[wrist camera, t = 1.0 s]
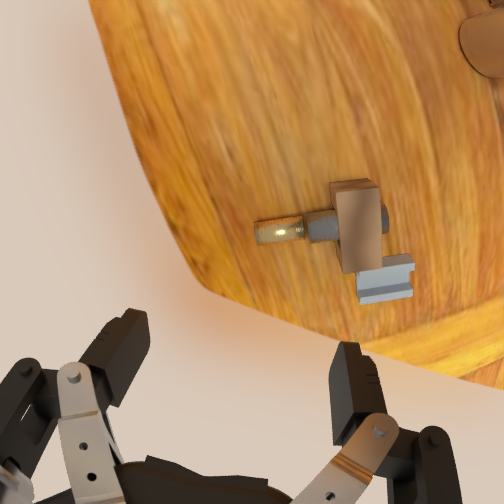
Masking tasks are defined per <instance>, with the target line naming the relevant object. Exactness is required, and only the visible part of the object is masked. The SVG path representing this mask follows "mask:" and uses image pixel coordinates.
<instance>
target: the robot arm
mask: <svg viewBox="0 0 504 504" xmlns="http://www.w3.org/2000/svg"><path fill="white" fill-rule="evenodd" d="M459 37H460V43H461V46H462V49H463V52H464V54H465V56H466V58H467V59H468V61H469V62H470V63H471V65H472V66H473V67H474V68H475V69H476V70H477V71H478V72H479V73H481V74H483V75H484V76H487V77H489V78H502V77H504V5H503V6H500V7H497V8H494V9H492V10H489V11H487V12H484V13H481V14H479V15H477V16H474V17H472V18H469V19H467V20H465V21H464V22H463V23H462V25H461V27H460V34H459ZM149 347H150V333H149V327H148V318H147V313H146V312H145V311H141V310H136V309H132V308H128V309H127V310H126V311H125V313H124V314H123V316H122V317H121V318H118V317H115V318H114V319H112V320H111V321H109V322H108V323H107V324H106V325H105V326H104V327H103V329H102V330H101V332H100V333H99V334H98V335H97V337H96V339H94V341H93V342H92V343H91V345H90V346H89V347H88V349H87V350H86V351H85V353H84V354H83V355H82V357H81V358H80V360H79V361H78V362H71V363H68V364H66V365H64V366H63V367H61V368H60V370H50V369H42V368H41V366H40V363H39V362H38V361H37V360H36V359H34V358H24V359H21V360H19V361H18V362H16V363H15V365H14V366H13V367H12V369H11V370H10V371H9V373H8V374H7V375H6V377H5V378H4V379H3V381H2V382H1V384H0V504H32V500H33V499H34V493H33V484H32V482H31V480H30V479H31V477H32V475H33V473H34V471H35V468H36V466H37V464H38V462H39V460H40V457H41V456H42V454H43V451H44V450H45V448H46V445H47V443H48V441H49V440H50V438H51V436H52V433H53V432H54V430H55V428H56V426H57V424H58V428H59V434H60V440H61V445H62V450H63V455H64V460H65V465H66V468H67V473H68V477H69V481H70V485H71V488H70V489H68V490H65V491H63V492H61V493H58V494H56V495H54V496H52V497H49V498H46V499H44V500H42V501H39V502H36V503H34V504H355V502H356V501H357V500H358V498H359V497H360V496H361V494H362V493H363V492H364V490H365V489H366V488H367V486H368V485H369V483H370V482H371V480H372V476H373V475H376V476H380V477H385V478H387V494H388V504H463V503H462V497H461V490H460V485H459V480H458V474H457V469H456V464H455V459H454V455H453V450H452V446H451V442H450V438H449V436H448V434H447V433H446V432H445V431H444V430H443V429H442V428H440V427H437V426H428V427H425V428H424V429H423V430H422V431H421V432H420V433H419V432H415V431H411V430H406V429H403V428H400V427H399V426H398V424H397V422H396V421H395V419H393V418H392V417H391V416H389V415H388V413H387V409H386V405H385V400H384V396H383V392H382V388H381V385H380V380H379V377H378V372H377V368H376V364H375V363H374V362H373V361H372V359H371V358H370V357H369V356H365V355H362V353H361V349H360V345H359V343H356V342H344V341H341V342H340V343H339V345H338V348H337V351H336V354H335V356H334V359H333V362H332V364H331V367H330V371H329V390H330V403H331V417H332V430H333V431H332V432H333V445H338V446H342V449H341V450H340V452H339V453H338V454H337V455H336V456H335V457H334V458H333V459H332V460H331V461H330V462H329V463H328V464H327V465H326V466H325V468H324V469H323V470H322V471H321V472H320V473H319V474H318V475H317V476H316V477H315V478H314V480H313V481H312V482H311V483H310V484H309V485H308V486H307V487H306V488H305V489H304V490H303V491H302V492H301V493H300V494H299V495H298V496H297V497H296V498H295V499H294V500H293V499H292V498H290V497H289V496H288V495H286V494H285V493H283V492H282V491H280V490H278V489H275V488H273V487H270V486H268V479H264V478H254V477H247V476H239V475H236V476H202V475H200V474H198V473H195V472H193V471H191V470H189V469H187V468H185V467H183V466H181V465H179V464H177V463H174V462H170V461H166V460H162V459H159V458H155V457H152V456H149V455H147V457H146V460H145V462H144V461H136V462H128V463H124V461H123V458H122V456H121V454H120V452H119V449H118V447H117V444H116V441H115V437H114V435H113V431H112V428H111V425H110V421H109V418H108V414H107V411H106V410H107V408H108V406H109V405H112V406H115V407H119V406H120V404H121V402H122V400H123V398H124V396H125V394H126V392H127V390H128V388H129V386H130V385H131V383H132V381H133V379H134V377H135V375H136V373H137V371H138V369H139V368H140V366H141V364H142V362H143V360H144V358H145V356H146V355H147V353H148V350H149ZM29 405H30V407H29ZM28 407H29V409H28V411H27V412H26V410H27V408H28ZM25 412H26V414H25V416H24V417H23V419H22V416H23V415H24V413H25ZM21 419H22V420H21Z"/></svg>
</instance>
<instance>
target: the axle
mask: <svg viewBox="0 0 504 504" xmlns="http://www.w3.org/2000/svg"><path fill="white" fill-rule="evenodd" d="M380 206H381V226H382V234H387V233H388V231H389V216H388V212H387V208H386V206H385V205H384V204H380ZM306 219H307V227H308V234H309V240H310V244H313V243H320V242H327V241H335V240H339V229H338V219H337V213H336V211H335V210H327V211H320V212H312V213H306Z"/></svg>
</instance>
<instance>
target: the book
mask: <svg viewBox="0 0 504 504" xmlns="http://www.w3.org/2000/svg"><path fill="white" fill-rule="evenodd" d="M490 1H491V2H492V3H491V4H490V5H491V7H493V6H495V5H498V4H500V3H503V2H504V0H490Z"/></svg>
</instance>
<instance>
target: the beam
mask: <svg viewBox="0 0 504 504" xmlns="http://www.w3.org/2000/svg"><path fill="white" fill-rule="evenodd" d="M329 185H330V193H331V201H332V205H333V207H334V209H335V211H336V213H337V219H338V229H339V240H336V249H337V257H338V260H339V263H340V266H341V269H342V272H343V274H348V273H355V272H362V271H369V270H375V269H382V226H381V206H380V192H379V187H378V186H377V185H375V184H374V183H373V182H372V181H370V180H369V179H368V178H365V179H356V180H348V181H340V182H332V183H329Z"/></svg>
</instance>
